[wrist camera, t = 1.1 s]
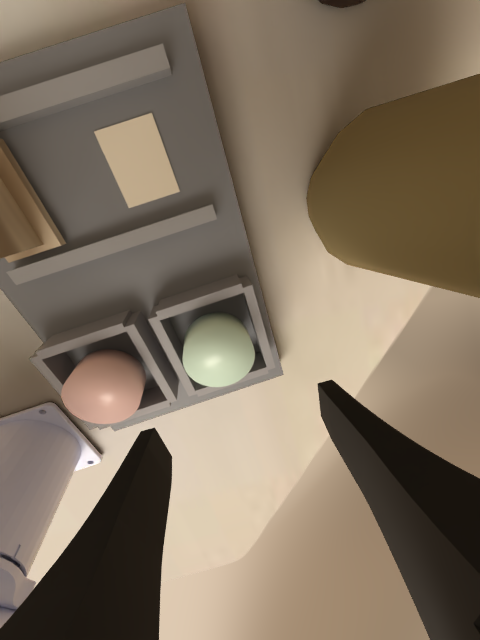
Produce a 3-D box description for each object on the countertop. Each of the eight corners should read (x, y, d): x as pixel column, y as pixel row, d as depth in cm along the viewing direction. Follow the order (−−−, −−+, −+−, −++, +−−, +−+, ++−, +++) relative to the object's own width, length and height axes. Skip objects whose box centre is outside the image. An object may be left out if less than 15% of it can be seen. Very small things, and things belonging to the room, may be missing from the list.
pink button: (98, 409, 18) (87, 432, 16) (61, 362, 16) (44, 383, 14) (156, 389, 18) (152, 410, 16) (127, 340, 16) (118, 358, 14)
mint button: (198, 376, 18) (197, 395, 16) (173, 325, 16) (170, 341, 14) (255, 356, 18) (262, 374, 16) (238, 303, 16) (244, 316, 14)
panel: (119, 417, 22) (106, 452, 19) (-107, 118, 12) (-210, 91, 9) (278, 364, 22) (291, 391, 19) (186, 23, 12) (182, -35, 9)
